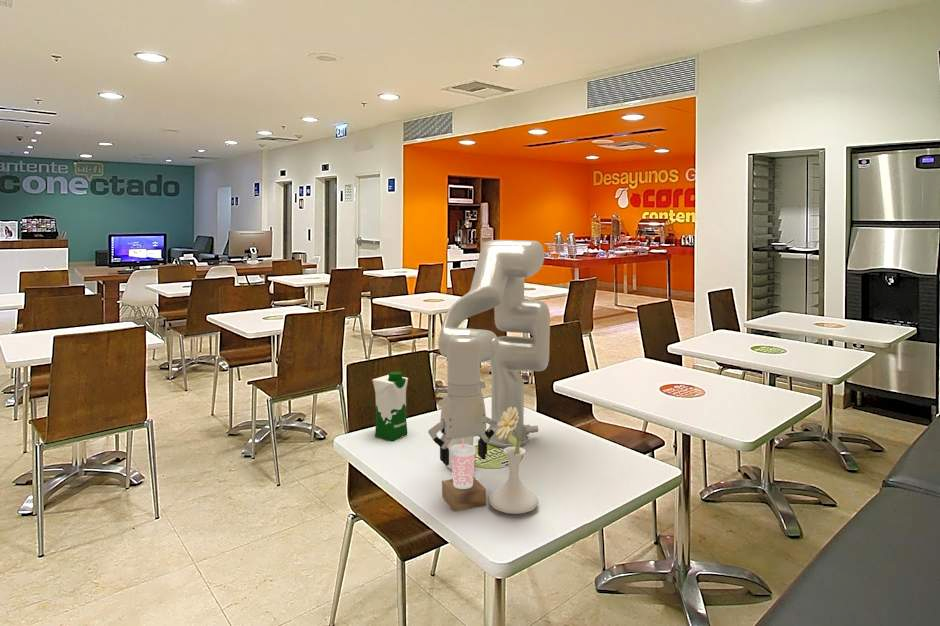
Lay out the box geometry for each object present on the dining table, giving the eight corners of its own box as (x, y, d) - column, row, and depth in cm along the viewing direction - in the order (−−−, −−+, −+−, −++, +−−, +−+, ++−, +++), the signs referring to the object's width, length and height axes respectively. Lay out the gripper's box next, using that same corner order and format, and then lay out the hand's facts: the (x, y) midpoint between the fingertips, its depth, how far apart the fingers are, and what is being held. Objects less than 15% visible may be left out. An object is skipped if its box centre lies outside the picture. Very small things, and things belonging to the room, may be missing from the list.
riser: (473, 491, 155) (473, 475, 154) (485, 505, 148) (486, 489, 147) (442, 496, 152) (442, 480, 151) (453, 511, 145) (453, 494, 144)
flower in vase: (490, 495, 153) (491, 395, 149) (537, 497, 152) (539, 396, 148) (486, 521, 140) (487, 412, 136) (538, 523, 139) (541, 414, 135)
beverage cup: (446, 488, 148) (445, 430, 145) (455, 477, 153) (455, 422, 151) (471, 492, 146) (471, 433, 143) (479, 481, 151) (479, 425, 149)
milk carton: (392, 443, 187) (391, 377, 184) (370, 436, 192) (368, 372, 189) (411, 434, 194) (411, 371, 191) (390, 428, 199) (388, 366, 196)
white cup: (452, 473, 165) (452, 437, 164) (439, 463, 172) (439, 427, 171) (478, 468, 169) (479, 432, 167) (465, 458, 176) (465, 423, 174)
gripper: (491, 381, 152) (491, 449, 155) (422, 388, 146) (423, 460, 149) (505, 389, 145) (504, 460, 148) (433, 397, 139) (433, 472, 142)
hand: (463, 460), depth 148 cm, fingers open, 8 cm apart
